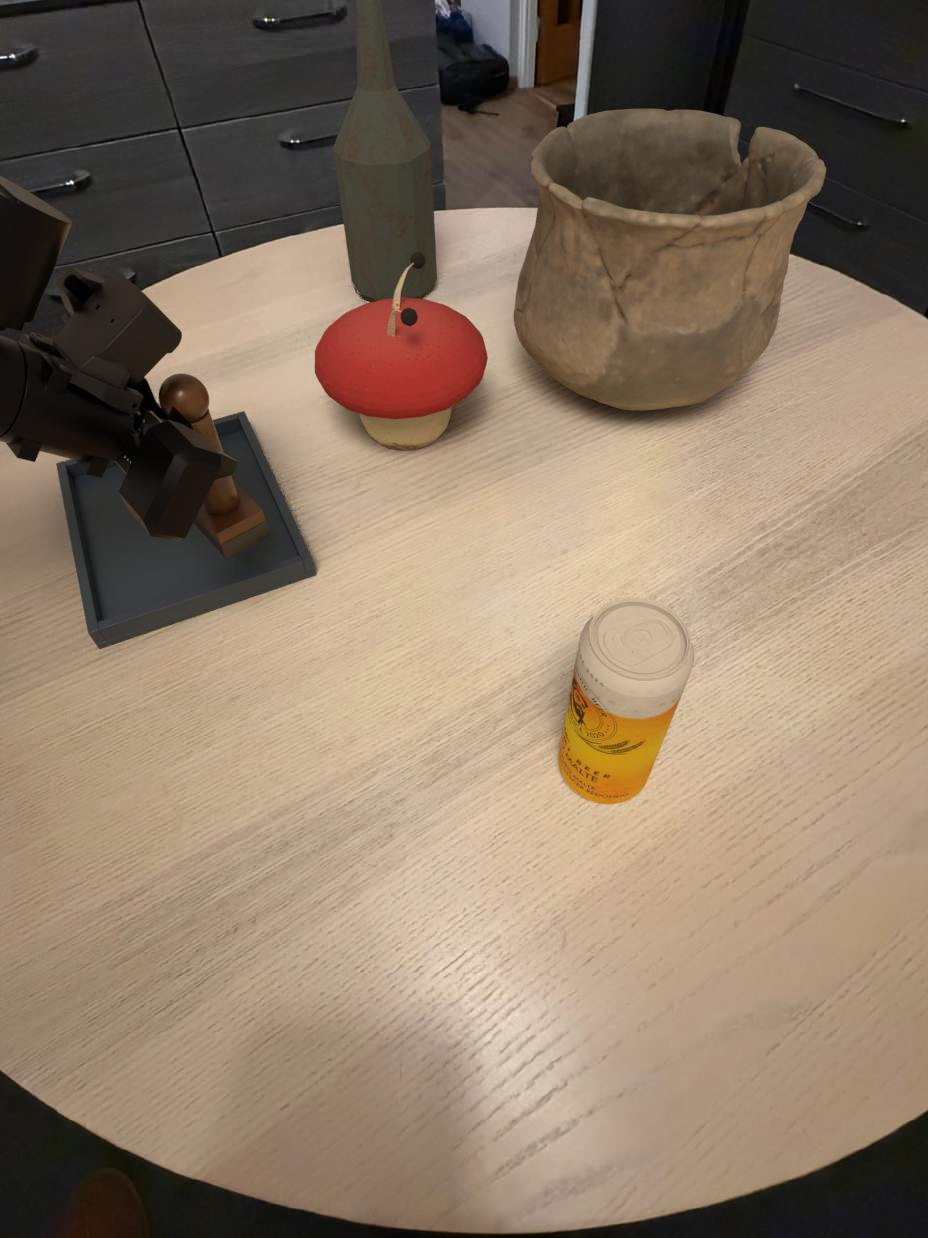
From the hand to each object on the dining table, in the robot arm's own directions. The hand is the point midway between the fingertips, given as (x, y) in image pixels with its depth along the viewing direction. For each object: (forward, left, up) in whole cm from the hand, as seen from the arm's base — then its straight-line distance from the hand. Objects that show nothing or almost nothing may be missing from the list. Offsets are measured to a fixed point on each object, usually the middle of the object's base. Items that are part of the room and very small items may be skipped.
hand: (225, 457), depth 55 cm
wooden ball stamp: (-1, 0, -7) cm, 7 cm away
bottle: (+27, +36, -11) cm, 47 cm away
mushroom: (+18, +10, -11) cm, 23 cm away
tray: (-5, +6, -10) cm, 13 cm away
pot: (+42, +7, -11) cm, 44 cm away
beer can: (+16, -30, -11) cm, 35 cm away
